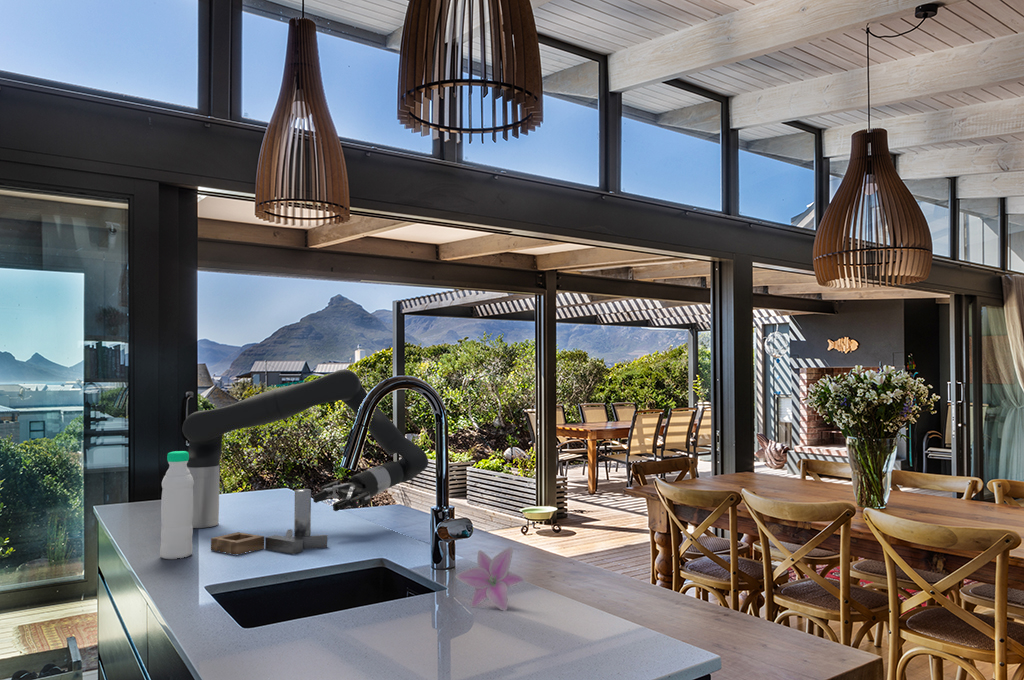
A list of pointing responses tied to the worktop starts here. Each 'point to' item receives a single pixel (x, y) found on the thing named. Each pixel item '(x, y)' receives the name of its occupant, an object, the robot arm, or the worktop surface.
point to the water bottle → (177, 508)
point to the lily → (491, 578)
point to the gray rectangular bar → (302, 513)
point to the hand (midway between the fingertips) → (323, 503)
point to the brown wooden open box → (237, 543)
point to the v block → (294, 543)
